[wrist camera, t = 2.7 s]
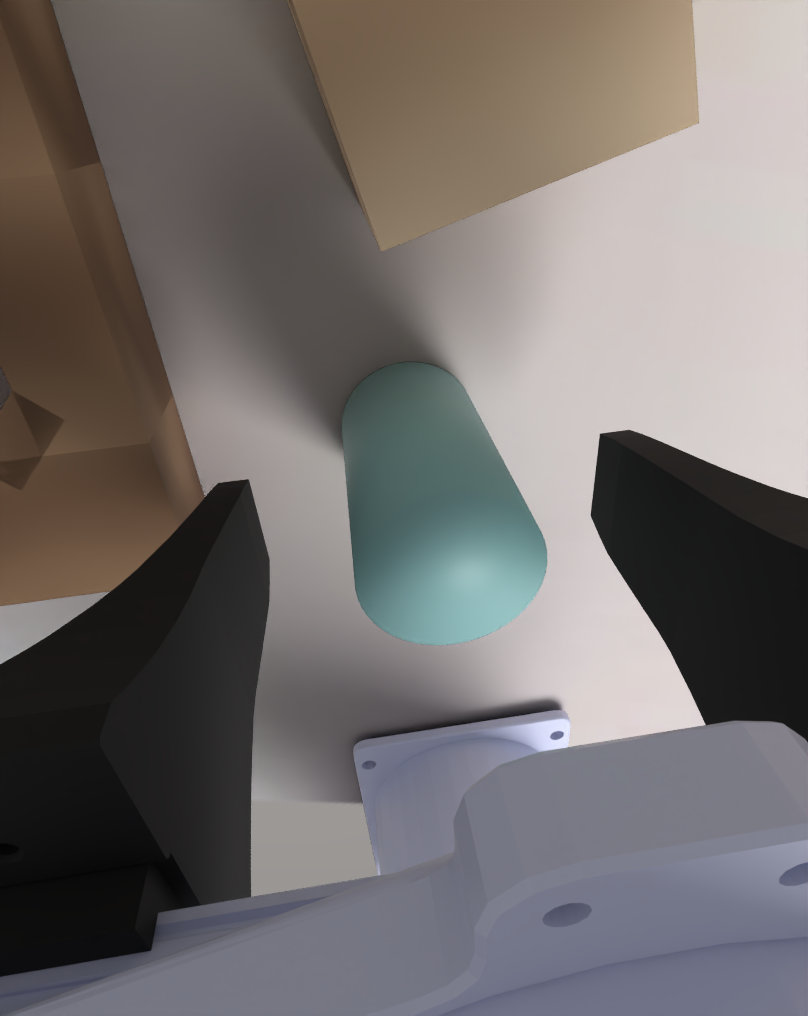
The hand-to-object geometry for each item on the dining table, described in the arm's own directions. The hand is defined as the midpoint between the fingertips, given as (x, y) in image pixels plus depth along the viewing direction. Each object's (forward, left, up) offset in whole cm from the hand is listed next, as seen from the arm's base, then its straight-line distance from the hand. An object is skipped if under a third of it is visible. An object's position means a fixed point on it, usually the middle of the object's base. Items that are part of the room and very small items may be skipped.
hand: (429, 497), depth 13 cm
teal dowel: (0, 0, -4) cm, 4 cm away
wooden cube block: (+8, -1, -4) cm, 9 cm away
